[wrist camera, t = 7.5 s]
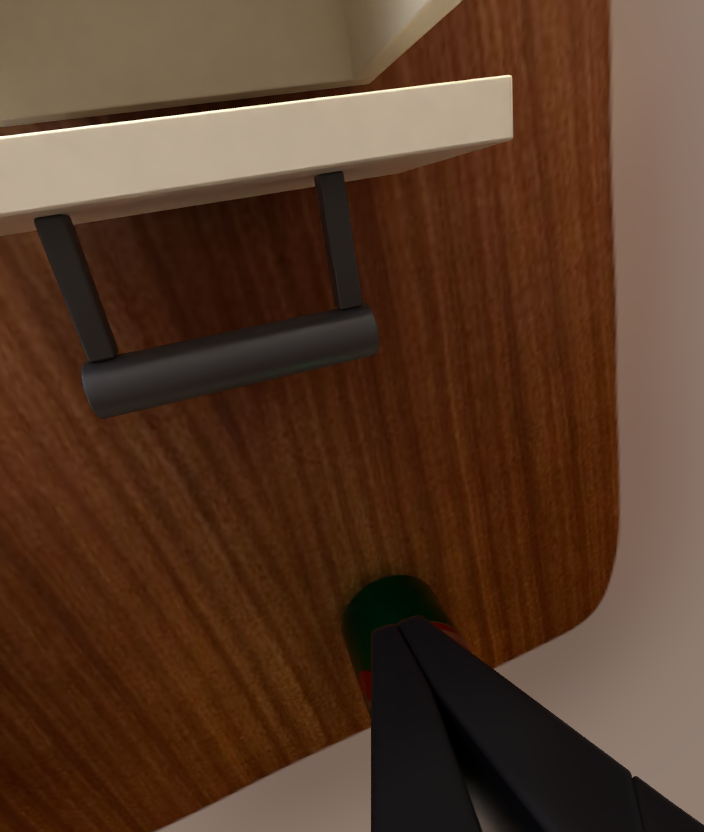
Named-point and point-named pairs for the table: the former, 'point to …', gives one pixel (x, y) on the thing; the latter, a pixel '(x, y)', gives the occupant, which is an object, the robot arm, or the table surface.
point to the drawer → (217, 153)
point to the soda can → (388, 619)
